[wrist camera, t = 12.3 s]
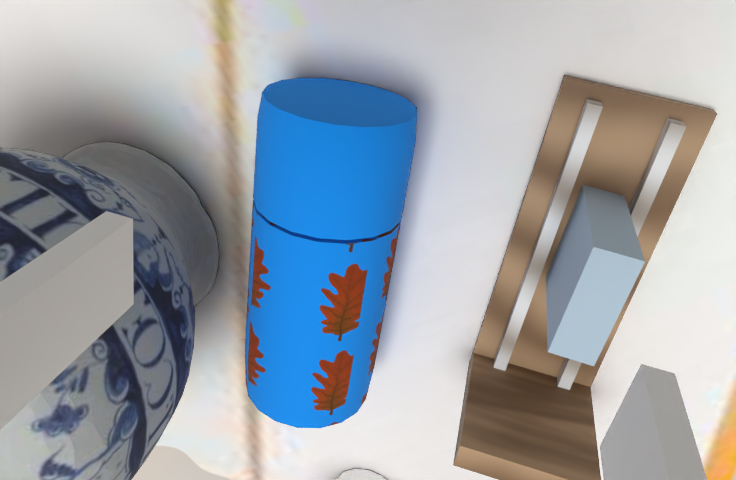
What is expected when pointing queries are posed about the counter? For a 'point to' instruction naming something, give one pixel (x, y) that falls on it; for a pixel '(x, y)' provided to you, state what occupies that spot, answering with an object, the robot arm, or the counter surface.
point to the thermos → (323, 243)
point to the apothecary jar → (128, 333)
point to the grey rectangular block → (591, 275)
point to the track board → (531, 263)
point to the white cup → (360, 475)
